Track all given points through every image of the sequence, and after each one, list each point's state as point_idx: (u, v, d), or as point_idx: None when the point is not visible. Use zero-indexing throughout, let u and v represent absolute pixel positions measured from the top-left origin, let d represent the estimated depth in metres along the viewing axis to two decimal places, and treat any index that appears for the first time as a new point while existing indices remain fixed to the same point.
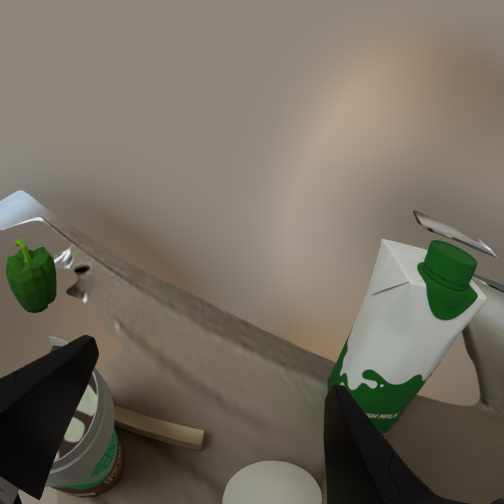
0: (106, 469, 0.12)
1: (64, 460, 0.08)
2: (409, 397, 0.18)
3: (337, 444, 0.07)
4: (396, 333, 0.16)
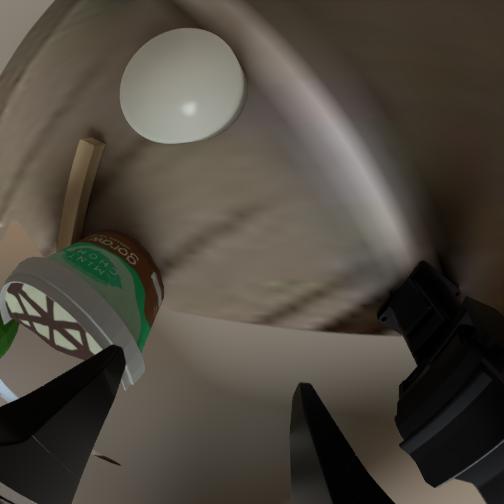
0: (114, 264, 0.17)
1: (93, 332, 0.12)
2: None
3: (299, 444, 0.07)
4: None
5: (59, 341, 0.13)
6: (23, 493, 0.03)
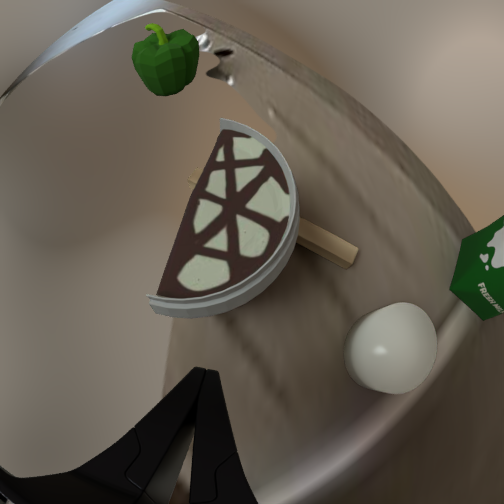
0: None
1: (242, 285, 0.12)
2: None
3: None
4: None
5: (206, 207, 0.14)
6: None
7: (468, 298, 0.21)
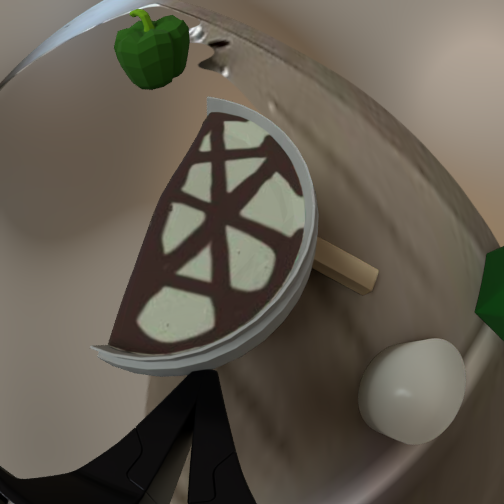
0: None
1: (233, 337, 0.07)
2: None
3: None
4: None
5: (181, 215, 0.09)
6: None
7: (494, 322, 0.16)
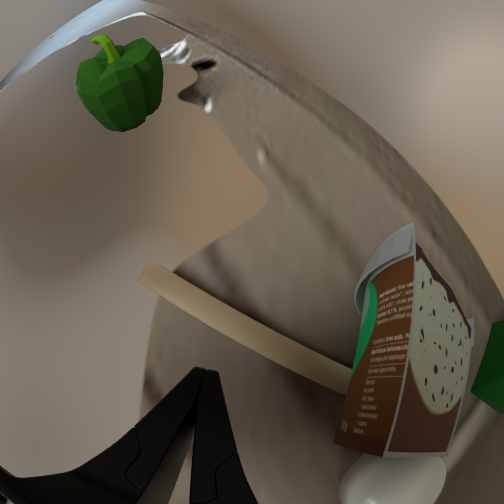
0: None
1: None
2: None
3: None
4: None
5: None
6: None
7: (489, 401, 0.13)
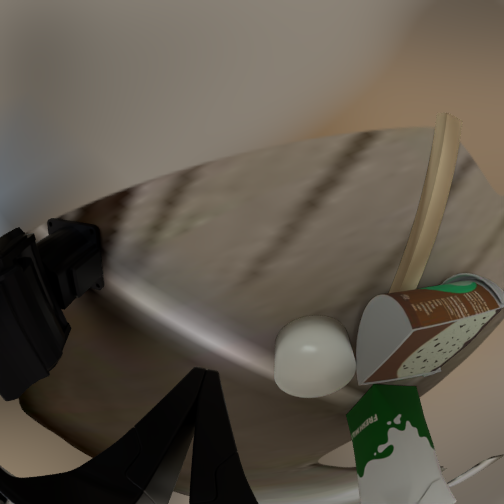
0: None
1: None
2: (355, 457, 0.22)
3: None
4: (393, 489, 0.14)
5: None
6: None
7: (365, 402, 0.26)
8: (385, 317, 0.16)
